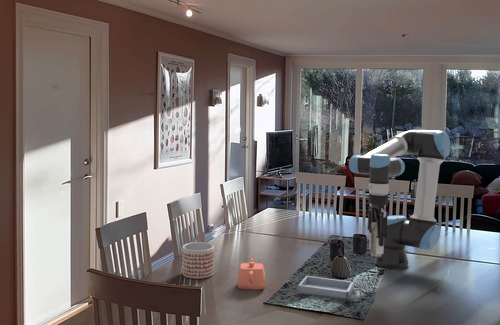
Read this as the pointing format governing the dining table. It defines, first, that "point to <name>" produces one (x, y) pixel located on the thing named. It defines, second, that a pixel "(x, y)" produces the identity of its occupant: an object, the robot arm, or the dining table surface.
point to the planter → (198, 260)
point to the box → (374, 240)
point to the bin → (326, 287)
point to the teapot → (251, 276)
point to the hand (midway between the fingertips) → (376, 251)
